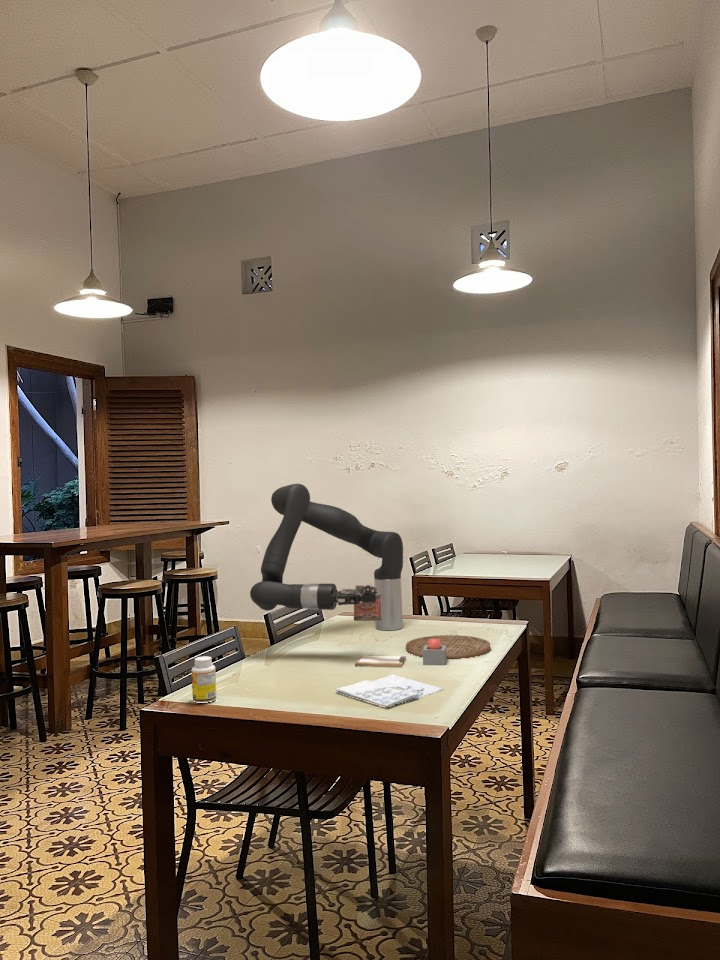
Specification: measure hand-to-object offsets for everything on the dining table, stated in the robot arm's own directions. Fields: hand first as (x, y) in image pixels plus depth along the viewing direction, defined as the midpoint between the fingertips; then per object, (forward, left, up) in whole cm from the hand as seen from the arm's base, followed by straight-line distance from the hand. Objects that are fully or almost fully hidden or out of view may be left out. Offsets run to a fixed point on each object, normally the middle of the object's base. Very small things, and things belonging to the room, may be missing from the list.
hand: (376, 597), depth 208 cm
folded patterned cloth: (+31, +8, -19) cm, 37 cm away
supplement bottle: (+42, -35, -18) cm, 58 cm away
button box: (+2, +16, -18) cm, 24 cm away
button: (+2, +16, -16) cm, 23 cm away
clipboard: (+4, +1, -18) cm, 18 cm away
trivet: (-13, +19, -18) cm, 29 cm away
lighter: (0, -3, -7) cm, 7 cm away
